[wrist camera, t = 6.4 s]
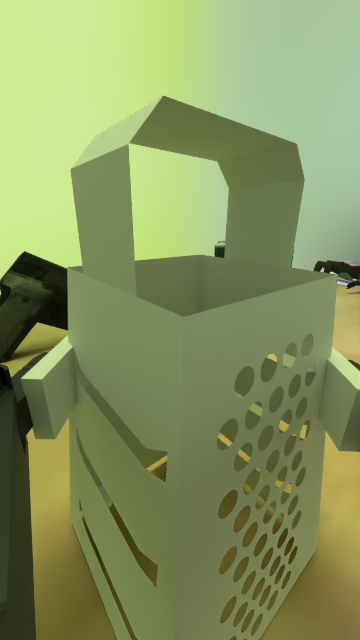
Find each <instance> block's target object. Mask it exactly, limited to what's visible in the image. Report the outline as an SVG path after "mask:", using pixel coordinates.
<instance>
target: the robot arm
mask: <svg viewBox="0 0 360 640" xmlns="http://www.w3.org/2000/svg"><path fill="white" fill-rule="evenodd" d="M294 359H296V357H293V356H291V355H288V354H286V353H284V356H283V364H284V365H286V364H287V363H289V362H291V361H292V360H294ZM286 367H289V368H290V367H291V366H286ZM74 369H75V370H74ZM307 371H308V372H315V374H316V365H315V364H311V365H310V367H309V368H308V370H307ZM75 372H76V374H77V376H78V378H79V381H80V383H81V385H82V387H83V388H84V389H85V390H86V389H87V387H88V385H89V384H90V382H89V380H88V379H87V377H86V376H85V375H84V374H83V373H82V371H81V369H80V366H79V367H76V368H75V364H74V357H73V346H72V345H71V344H70V343H69V342H68V335H67V336H66V337H65V338H64V339H63V340H62V341H61V342H60V343H59V344H58V345H56V346H55V347H54V348H53V349H52V350H51V351H50V352H44V353H42V354H40V355H38V356H36V357H34V358H33V359H32V360H31V361H30V362H29V363H28V364H27V365H25V366H24V367H23V368H22V370H19V371H18V372H17V373H16V374H15V375H14V376H13V377H11V376H10V373H9V369H8V367H7V366H5V365H1V364H0V640H36V630H35V605H34V580H33V555H32V530H31V505H30V480H29V456H28V441H27V437H26V435H27V433H28V432H29V431H30V429H31V428H32V427H33V431H34V435H35V439H55V438H56V436H57V435H58V433H59V432H60V430H61V428H62V427H63V425H64V424H65V422H66V420H67V419H68V417H69V416H70V414H71V412H72V411H73V409H74V408H75V406H76V404H77V396H76V383H75ZM314 378H315V375H314ZM314 378H313V380H314ZM312 382H313V381H312ZM306 400H307V399H306ZM307 402H308V401H307ZM319 420H320V422H321V424H322V425H323V427H324V428H325V430H326V431H327V433H328V434H329V436H330V438H331V439H332V441H333V442H334V444H335V445H336V447H337V449H338V450H339V451H356V452H360V365H359V364H358V363H356V362H354V361H352V360H347V359H345V358H344V357H343V356H342V355H341V354H340V353H339V352H338V351H336V350H335V349H334V348H333V347H332V353H331V357H330V358H329V359H328V361H327V367H326V373H325V380H324V386H323V393H322V399H321V406H320V412H319Z"/></svg>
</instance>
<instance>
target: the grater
mask: <svg viewBox="0 0 360 640" xmlns="http://www.w3.org/2000/svg"><path fill="white" fill-rule="evenodd" d="M129 143H132V144H136V145H141V146H146V147H151V148H156V149H160V150H165V151H170V152H175V153H180V154H185V155H190V156H194V157H199V158H204V159H209V160H213V161H217V162H218V164H219V166H220V169H221V171H222V173H223V176H224V178H225V180H226V183H227V185H228V187H229V196H228V210H227V211H228V212H227V226H226V241H225V255H224V258H220V257H213V256H205V255H192V256H182V257H171V258H160V259H149V260H139V261H135V259H134V241H133V221H132V202H131V185H130V166H129V146H128V144H129ZM71 177H72V185H73V193H74V201H75V208H76V217H77V224H78V233H79V241H80V248H81V257H82V265H83V266H76V267H68V268H67V280H68V342H69V343H70V344H71V345H72V346H73V357H74V364H75V368H76V367H79V366H80V369H81V371H82V373H83V374H84V375H85V376H86V377H87V379H88V380H89V382H90V384H89V385H88V387H87V389H86V390H85V389H84V388H83V387H82V385H81V383H80V381H79V378H78V376H77V374H76V372H75V383H76V396H77V404H76V406H75V408H74V409H73V411H72V412H71V414H70V416H69V448H70V519H71V521H72V524H73V526H74V529H75V531H76V534H77V537H78V539H79V542H80V544H81V547H82V550H83V552H84V555H85V557H86V560H87V563H88V565H89V568H90V570H91V573H92V576H93V578H94V581H95V583H96V586H97V588H98V591H99V594H100V596H101V599H102V601H103V604H104V607H105V609H106V612H107V614H108V617H109V620H110V622H111V625H112V627H113V630H114V632H115V635H116V638H117V640H131V637H130V635H129V633H128V630H127V628H126V626H125V623H124V621H123V618H122V616H121V614H120V611H119V609H118V606H117V604H116V602H115V599H114V597H113V595H112V592H111V590H110V587H109V585H108V583H107V580H106V578H105V576H104V573H103V571H102V568H101V566H100V564H99V561H98V559H97V556H96V554H95V552H94V549H93V547H92V545H91V542H90V540H89V537H88V535H87V533H86V530H85V527H84V523H83V520H82V517H81V514H80V512H81V511H82V510H83V514H84V517H85V521H86V524H87V526H88V528H89V531H90V533H91V535H92V538H93V540H94V542H95V545H96V547H97V549H98V552H99V554H100V556H101V558H102V561H103V563H104V565H105V568H106V570H107V572H108V575H109V577H110V579H111V582H112V584H113V586H114V589H115V591H116V593H117V595H118V598H119V600H120V602H121V605H122V607H123V609H124V612H125V614H126V616H127V619H128V621H129V623H130V626H131V628H132V630H133V633H134V635H135V636H136V638H137V639H138V640H230V639H231V638H232V637H233V636H235V635H236V640H243V639H245V638H246V639H247V640H259V639H260V638H261V636H262V635H263V633H264V631H265V630H266V628H267V627H268V625H269V623H270V622H271V620H272V619H273V617H274V615H275V614H276V612H277V611H278V609H279V607H280V606H281V604H282V603H283V601H284V599H285V598H286V596H287V595H288V593H289V592H290V590H291V588H292V587H293V585H294V584H295V582H296V580H297V579H298V577H299V576H300V574H301V572H302V571H303V569H304V568H305V566H306V564H307V563H308V561H309V560H310V558H311V557H312V555H313V553H314V552H315V550H316V549H317V537H318V524H319V511H320V498H321V485H322V472H323V459H324V445H325V432H326V430H325V428H324V427H323V425H322V424H321V422H320V420H319V412H320V406H321V399H322V393H323V386H324V380H325V373H326V367H327V361H328V359H329V358H330V357H331V353H332V340H333V327H334V314H335V301H336V288H337V274H330V273H323V272H317V271H310V270H303V269H296V268H291V261H292V255H293V249H294V242H295V236H296V230H297V224H298V217H299V211H300V205H301V199H302V192H303V186H304V175H303V171H302V166H301V161H300V157H299V152H298V148H297V144H296V143H293V142H290V141H288V140H285V139H282V138H280V137H277V136H274V135H271V134H268V133H266V132H263V131H260V130H257V129H255V128H251V127H249V126H246V125H243V124H241V123H238V122H235V121H232V120H229V119H227V118H224V117H221V116H218V115H216V114H213V113H210V112H207V111H204V110H202V109H199V108H196V107H193V106H191V105H188V104H185V103H182V102H180V101H177V100H174V99H171V98H168V97H166V96H162V97H160V98H158V99H157V100H155V101H153V102H152V103H150V104H148V105H147V106H145V107H143V108H141V109H140V110H138V111H136V112H135V113H133V114H131V115H130V116H128V117H126V118H125V119H123V120H121V121H120V122H118V123H116V124H115V125H113V126H111V127H109V128H108V129H106V130H105V131H103V132H101V133H99V134H98V135H96V136H95V137H94V138H93V140H92V141H91V142H90V144H89V145H88V147H87V148H86V149H85V150H84V152H83V153H82V154H81V156H80V157H79V158H78V160H77V161H76V162H75V164H74V165H73V166H72V168H71ZM284 353H286V354H288V355H291V356H293V357H296V359H294V360H292V361H291V362H289V363H287V364H286V365H283V356H284ZM269 354H275V355H276V357H277V362H275V361H273V360H271V359H268V358H266V357H267V356H268V355H269ZM311 364H315V365H316V374H315V372H308V371H307V370H308V368H309V367H310V365H311ZM286 366H291V367H290V368H289V367H286ZM74 370H75V369H74ZM314 375H315V378H314ZM313 378H314V380H313ZM312 381H313V382H312ZM235 392H237V393H238V394H240V395H241V396H243V397H240V398H239V397H238V396H236V395H235ZM306 399H307V400H306ZM307 401H308V402H307ZM253 403H254V404H256V405H258V406H259V407H261V408H263V412H262V416H261V417H260V416H259V415H257V414H255V413H254V412H252V411H251V410H249V408H250V407H251V406H252V404H253ZM280 420H282V421H284V422H285V423H287V424H290V425H289V427H288V429H287V430H286V431H285V432H283V431H282V430H280V429H279V423H280ZM303 425H307V430H306V435H305V439H302V438H300V432H301V429H302V426H303ZM219 432H220V433H222V434H223V435H224V436H225V437H226V438H228V439H229V440H230V441H231V442H232V444H231V445H230V446H229V447H228V446H227V445H226V444H225V443H224V442H222V441H221V440H220V439H219V438H218V433H219ZM292 434H295V435H296V436H293V435H292ZM239 449H241V450H242V451H243V452H244V453H246V454H247V455H248V456H249V457H251V458H250V460H249V462H246V461H245V460H244V459H243V458H242V457H240V456H239V455H238V454H237V453H238V450H239ZM166 455H168V459H167V471H166V482H164V481H162V480H161V479H160V478H158V477H157V476H155V475H154V474H152V473H151V472H149V471H148V470H146V468H148V467H149V466H151V465H152V464H154V463H156V462H157V461H159V460H160V459H162V458H163V457H165V456H166ZM256 468H258V469H259V470H260V472H258V471H257V470H256ZM266 470H267V471H268V472H269V474H268V473H266ZM276 478H277V479H278V480H279V481H282V482H284V483H283V484H282V486H281V487H279V488H278V487H277V486H275V482H276ZM244 484H247V485H248V486H249V487H250V488H251V489H252V490H253V491H252V492H251V493H250V494H248V495H246V494H244V491H243V489H244ZM287 484H292V489H291V493H290V494H289V493H287V492H285V491H283V490H284V488H285V487H286V485H287ZM232 490H237V493H238V498H237V502H236V504H235V506H234V509H233V510H232V511H231V513H230V514H229V515H228V516H227V517H225V518H224V519H219V516H218V511H219V506H220V504H221V502H222V500H223V498H224V497H225V496H226V495H227V494H228V492H230V491H232ZM258 495H259V496H260V497H261V498H262V499H263V500H264V501H265V504H264V505H263V507H261V508H260V509H256V506H255V504H256V499H257V497H258ZM112 502H113V504H114V506H115V507H116V509H117V511H118V513H119V515H120V516H121V518H122V520H123V522H124V524H125V525H126V527H127V529H128V531H129V533H130V534H131V536H132V538H133V540H134V542H135V543H136V545H137V547H138V549H139V551H141V552H142V553H143V554H144V555H145V556H146V557H148V558H149V559H150V560H151V561H152V562H154V563H155V564H156V565H157V566H158V571H157V582H156V587H155V586H154V585H153V583H152V582H151V581H150V579H149V578H148V577H147V575H146V574H145V573H144V571H143V570H142V569H141V567H140V566H139V565H138V563H137V561H136V559H135V557H134V555H133V553H132V551H131V550H130V548H129V546H128V544H127V542H126V540H125V538H124V536H123V535H122V533H121V531H120V529H119V527H118V525H117V523H116V521H115V520H114V518H113V516H112V514H111V512H110V510H109V508H108V507H110V506H111V505H112ZM269 505H270V506H271V507H272V508H273V509H274V510H275V512H274V514H273V516H272V518H271V519H270V521H269V522H268V523H267V524H264V523H263V518H264V514H265V512H266V509H267V508H268V506H269ZM245 506H250V509H251V511H250V516H249V518H248V520H247V523H246V524H245V526H244V527H243V528H242V529H241V530H240V531H239V532H234V529H233V527H234V522H235V520H236V518H237V515H238V514H239V512H240V511H241V510H242V508H244V507H245ZM279 515H281V516H282V517H283V518H284V519H283V522H282V525H281V527H280V529H279V530H278V532H277V533H276V534H272V529H273V525H274V523H275V520H276V519H277V517H278V516H279ZM254 522H257V523H258V529H257V533H256V535H255V537H254V539H253V540H252V542H251V543H250V544H249V545H248V546H247V547H243V545H242V543H243V538H244V536H245V534H246V531H247V530H248V528H249V527H250V526H251V525H252V524H253V523H254ZM291 526H293V527H294V529H293V530H292V528H291ZM285 528H288V534H287V537H286V540H285V542H284V543H283V545H282V546H281V547H280V548H277V543H278V540H279V537H280V535H281V533H282V532H283V530H284V529H285ZM264 533H267V536H268V537H267V542H266V544H265V546H264V548H263V550H262V552H261V553H260V554H259V555H258V556H257V557H254V549H255V547H256V544H257V542H258V540H259V539H260V537H261V536H262V535H263V534H264ZM292 537H294V543H293V546H292V548H291V550H290V552H289V553H288V554H287V555H286V556H284V551H285V548H286V545H287V543H288V542H289V540H290V539H291V538H292ZM233 546H236V547H237V554H236V557H235V560H234V562H233V564H232V565H231V567H230V568H229V570H227V571H226V572H225V573H224V574H220V572H219V568H220V564H221V562H222V559H223V557H224V556H225V554H226V553H227V551H228V550H229V549H230V548H232V547H233ZM295 546H297V547H298V549H297V553H296V555H295V558H294V560H293V561H292V563H291V564H289V565H288V560H289V557H290V554H291V552H292V550H293V549H294V548H295ZM271 547H273V555H272V557H271V560H270V562H269V563H268V565H267V566H266V567H265V569H263V570H261V563H262V560H263V558H264V556H265V554H266V553H267V551H268V550H269V549H270V548H271ZM245 556H248V557H249V563H248V566H247V568H246V571H245V573H244V574H243V576H242V577H241V578H240V579H239V580H238V581H237V582H234V581H233V577H234V573H235V570H236V568H237V566H238V565H239V563H240V562H241V560H242V559H243V558H244V557H245ZM278 556H281V560H280V563H279V566H278V568H277V570H276V572H275V573H274V574H273V575H272V576H270V575H269V573H270V569H271V566H272V564H273V562H274V561H275V559H276V558H277V557H278ZM283 564H285V569H284V572H283V575H282V577H281V579H280V581H279V582H278V583H277V584H275V583H274V581H275V577H276V575H277V572H278V571H279V569H280V567H281V566H282V565H283ZM290 570H291V575H290V578H289V581H288V583H287V585H286V586H285V588H284V589H281V586H282V582H283V580H284V578H285V576H286V574H287V573H288V572H289V571H290ZM252 571H256V576H255V580H254V582H253V584H252V586H251V588H250V589H249V591H248V592H247V593H246V594H245V595H242V593H241V592H242V587H243V585H244V583H245V580H246V579H247V577H248V576H249V574H250V573H251V572H252ZM264 577H265V583H264V586H263V589H262V591H261V593H260V594H259V596H258V597H257V598H256V599H255V600H252V596H253V592H254V590H255V587H256V586H257V584H258V582H259V581H260V580H261V579H262V578H264ZM268 585H271V590H270V593H269V595H268V598H267V599H266V601H265V603H264V604H263V605H262V606H261V607H259V602H260V599H261V596H262V594H263V592H264V590H265V589H266V588H267V586H268ZM276 590H278V595H277V598H276V601H275V603H274V604H273V606H272V608H271V609H270V610H269V611H268V610H267V607H268V603H269V601H270V599H271V597H272V595H273V594H274V592H275V591H276ZM234 596H236V598H237V600H236V605H235V607H234V609H233V611H232V613H231V615H230V616H229V618H228V619H227V620H226V621H225V622H224V623H221V622H220V618H221V614H222V612H223V610H224V608H225V606H226V604H227V603H228V601H229V600H230V599H231V598H232V597H234ZM244 602H247V603H248V606H247V610H246V612H245V615H244V616H243V618H242V620H241V621H240V623H239V624H238V625H237V626H236V627H233V622H234V618H235V616H236V614H237V612H238V610H239V608H240V607H241V606H242V605H243V603H244ZM252 609H254V616H253V618H252V621H251V623H250V625H249V626H248V628H247V629H246V630H245V632H243V633H241V627H242V624H243V622H244V620H245V618H246V616H247V615H248V613H249V612H250V611H251V610H252ZM261 613H263V618H262V621H261V623H260V626H259V628H258V629H257V631H256V632H255V634H254V635H252V636H251V630H252V627H253V625H254V623H255V621H256V619H257V617H258V616H259V615H260V614H261Z"/></svg>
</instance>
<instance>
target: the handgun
mask: <svg viewBox="0 0 360 640" xmlns="http://www.w3.org/2000/svg"><path fill="white" fill-rule="evenodd" d="M0 290H1V295H0V362H2V363H4V362H7V360H8V359H9V358H10V357H11V355H12V354H13V353H14V351H15V350H16V349H17V347H18V346H19V345H20V343H21V342H22V341H23V340H24V338H25V337H26V336H27V334H28V333H29V332H30V330H31V329H32V328H33V327H34V326H35V324H36V323H37V322H39V323H42V324H46V325H50V326H53V327H57V328H61V329H64V330H68V280H67V268H64V267H62V266H59V265H57V264H54V263H52V262H49V261H47V260H44V259H42V258H40V257H37V256H35V255H32V254H30V253H27V252H25V251H24V252H23V253H22V254H21V255H20V256H19V257H18V258H17V260H16V261H15V262H14V263H13V265H12V266H11V267H10V268H9V270H8V271H7V272H6V273H5V275H4V276H3V277H2V278H1V280H0Z"/></svg>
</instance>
